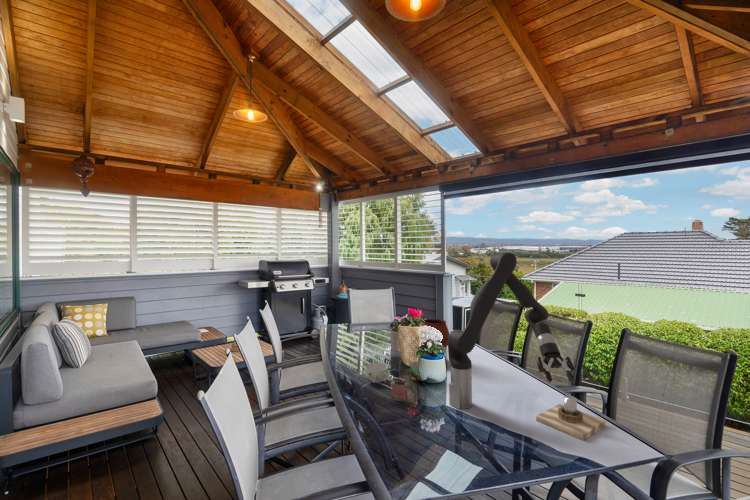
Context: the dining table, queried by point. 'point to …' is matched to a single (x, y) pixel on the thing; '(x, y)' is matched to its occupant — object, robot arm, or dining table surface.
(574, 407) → the roller
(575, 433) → the wooden board with ring
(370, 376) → the grey spiky lump
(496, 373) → the dining table surface
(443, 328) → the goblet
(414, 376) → the food container
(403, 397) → the lighter
